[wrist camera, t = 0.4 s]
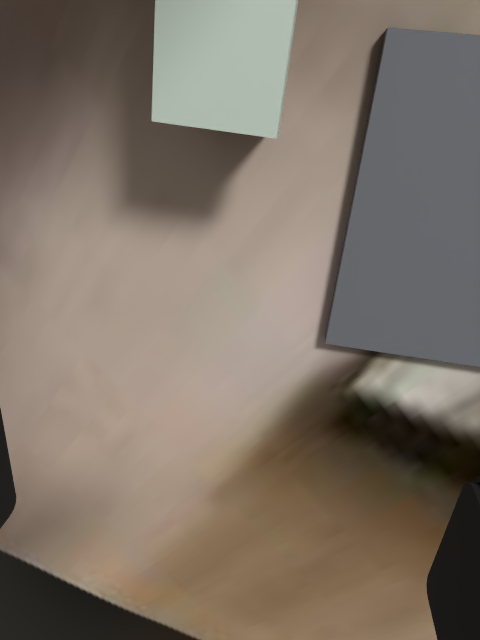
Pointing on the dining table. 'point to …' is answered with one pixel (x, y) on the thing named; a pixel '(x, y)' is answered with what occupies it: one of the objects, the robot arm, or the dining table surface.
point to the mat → (416, 206)
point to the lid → (222, 63)
